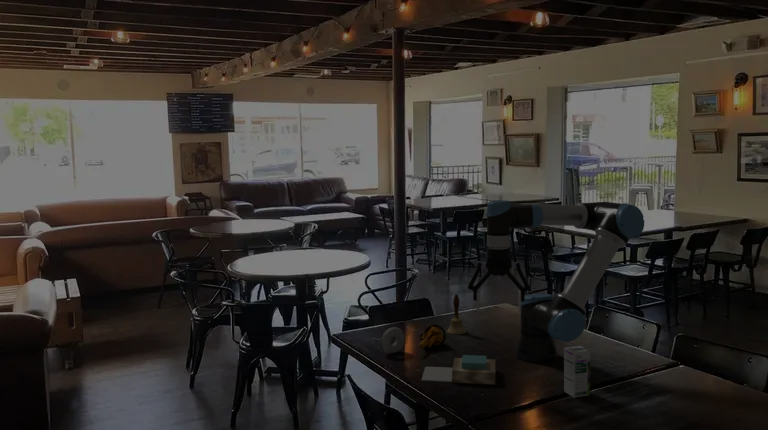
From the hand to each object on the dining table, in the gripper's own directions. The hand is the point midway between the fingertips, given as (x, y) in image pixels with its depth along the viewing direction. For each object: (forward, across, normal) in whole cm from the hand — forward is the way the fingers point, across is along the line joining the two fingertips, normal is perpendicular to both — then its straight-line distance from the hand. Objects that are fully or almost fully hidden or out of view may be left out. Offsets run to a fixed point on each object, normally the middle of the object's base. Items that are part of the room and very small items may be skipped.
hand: (498, 310), depth 210 cm
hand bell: (+23, +17, -51) cm, 59 cm away
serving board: (+23, +8, +1) cm, 24 cm away
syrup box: (+23, -24, +12) cm, 35 cm away
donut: (+23, +39, -20) cm, 50 cm away
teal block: (+19, +8, +1) cm, 20 cm away
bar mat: (+23, +20, +1) cm, 30 cm away
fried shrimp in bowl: (+23, +26, -27) cm, 44 cm away
